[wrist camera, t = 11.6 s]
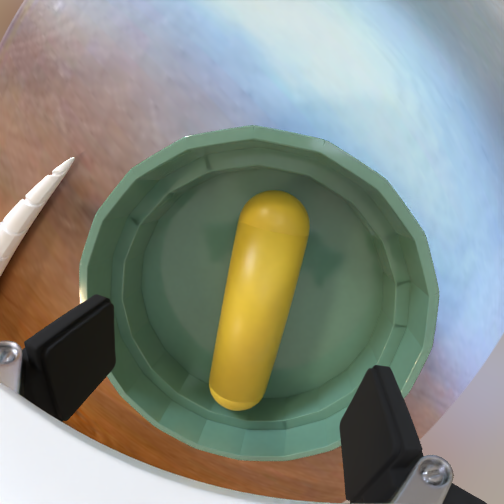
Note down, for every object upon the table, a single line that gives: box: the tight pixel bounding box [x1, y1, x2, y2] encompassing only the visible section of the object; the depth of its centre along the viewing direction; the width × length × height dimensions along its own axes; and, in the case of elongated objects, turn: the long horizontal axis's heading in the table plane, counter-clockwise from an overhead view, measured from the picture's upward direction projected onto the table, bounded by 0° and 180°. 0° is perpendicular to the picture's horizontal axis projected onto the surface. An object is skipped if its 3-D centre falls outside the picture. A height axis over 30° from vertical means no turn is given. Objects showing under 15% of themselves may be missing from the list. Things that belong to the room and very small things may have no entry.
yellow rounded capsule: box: [209, 190, 310, 411], centre depth 16 cm, size 14×4×4 cm, turn 168°
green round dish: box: [79, 125, 439, 461], centre depth 16 cm, size 18×18×6 cm
